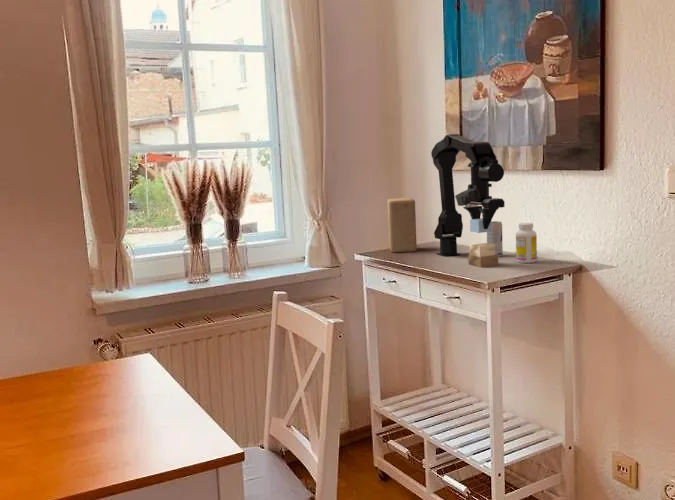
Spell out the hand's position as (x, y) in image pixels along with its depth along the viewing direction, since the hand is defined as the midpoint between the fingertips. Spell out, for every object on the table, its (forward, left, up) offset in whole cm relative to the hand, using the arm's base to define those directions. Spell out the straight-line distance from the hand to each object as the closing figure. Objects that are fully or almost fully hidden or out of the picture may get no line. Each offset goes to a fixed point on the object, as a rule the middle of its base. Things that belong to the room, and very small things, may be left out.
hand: (480, 228), depth 225 cm
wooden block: (-44, -6, -12) cm, 46 cm away
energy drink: (-11, +13, -12) cm, 21 cm away
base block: (0, 0, -12) cm, 12 cm away
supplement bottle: (+5, +14, -12) cm, 20 cm away
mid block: (0, 0, -9) cm, 9 cm away
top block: (0, 0, -1) cm, 1 cm away
